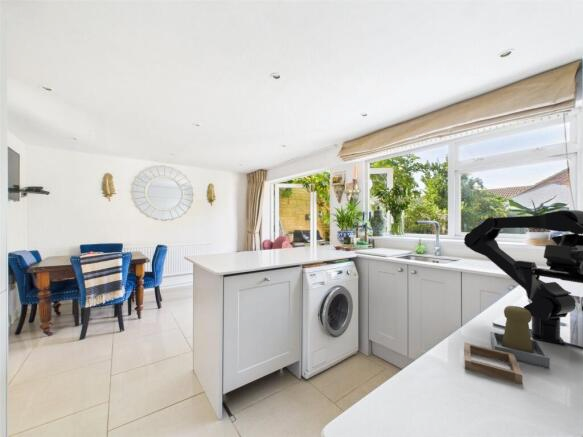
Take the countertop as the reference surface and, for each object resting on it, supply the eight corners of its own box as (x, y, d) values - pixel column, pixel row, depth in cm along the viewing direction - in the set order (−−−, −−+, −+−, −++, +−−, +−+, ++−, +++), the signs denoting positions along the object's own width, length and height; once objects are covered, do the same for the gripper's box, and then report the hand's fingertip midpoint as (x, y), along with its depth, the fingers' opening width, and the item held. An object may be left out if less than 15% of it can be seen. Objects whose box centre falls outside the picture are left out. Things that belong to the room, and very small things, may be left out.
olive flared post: (540, 358, 60) (540, 312, 60) (511, 356, 61) (511, 310, 61) (522, 346, 66) (523, 304, 65) (496, 343, 67) (496, 302, 67)
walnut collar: (464, 350, 64) (464, 342, 64) (513, 362, 59) (513, 353, 59) (465, 368, 56) (465, 360, 56) (522, 384, 51) (522, 375, 51)
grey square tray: (490, 340, 70) (490, 331, 70) (538, 350, 64) (538, 340, 64) (494, 356, 62) (494, 345, 62) (549, 369, 56) (549, 358, 56)
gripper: (516, 231, 70) (495, 274, 65) (625, 235, 54) (609, 294, 49) (528, 257, 74) (510, 300, 69) (635, 269, 57) (620, 327, 52)
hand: (554, 304), depth 59 cm, fingers open, 9 cm apart
